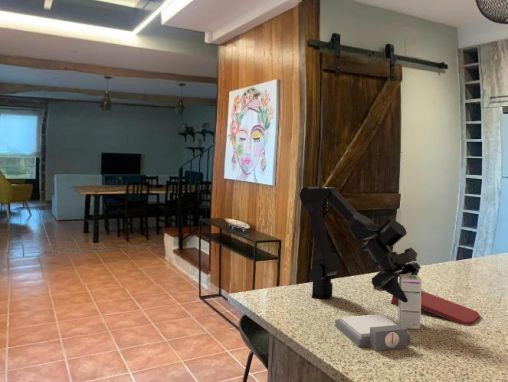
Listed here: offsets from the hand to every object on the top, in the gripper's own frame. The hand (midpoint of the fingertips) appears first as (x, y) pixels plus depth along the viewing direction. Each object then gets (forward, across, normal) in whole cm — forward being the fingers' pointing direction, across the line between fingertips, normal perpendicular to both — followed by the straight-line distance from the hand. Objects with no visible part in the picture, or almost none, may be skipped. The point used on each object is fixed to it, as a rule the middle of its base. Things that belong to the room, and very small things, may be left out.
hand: (414, 299), depth 124 cm
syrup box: (+5, 0, +7) cm, 8 cm away
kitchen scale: (+4, -15, +8) cm, 18 cm away
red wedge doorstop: (+4, +18, +8) cm, 21 cm away
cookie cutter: (-10, +30, +23) cm, 39 cm away
